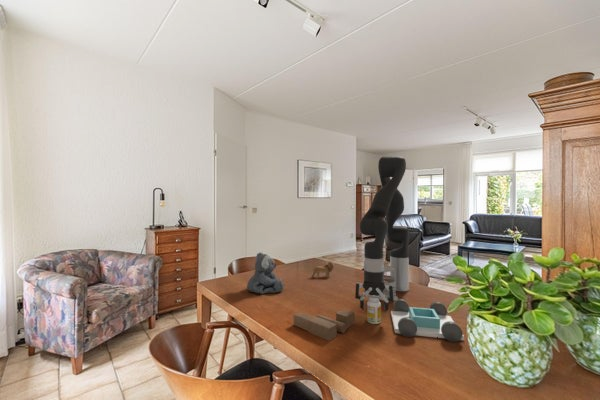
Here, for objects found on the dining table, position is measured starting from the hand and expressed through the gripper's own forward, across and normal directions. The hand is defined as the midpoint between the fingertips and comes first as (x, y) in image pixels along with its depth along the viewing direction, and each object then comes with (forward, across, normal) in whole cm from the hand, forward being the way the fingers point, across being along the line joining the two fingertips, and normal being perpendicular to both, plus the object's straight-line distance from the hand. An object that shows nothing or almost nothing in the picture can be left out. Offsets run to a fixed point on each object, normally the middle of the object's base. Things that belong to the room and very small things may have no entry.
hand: (374, 310), depth 105 cm
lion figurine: (+4, +29, -56) cm, 63 cm away
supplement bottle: (+4, 0, 0) cm, 5 cm away
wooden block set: (+5, +18, +7) cm, 20 cm away
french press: (+4, -6, -27) cm, 28 cm away
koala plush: (+4, +56, -25) cm, 62 cm away
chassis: (+4, -18, 0) cm, 18 cm away
